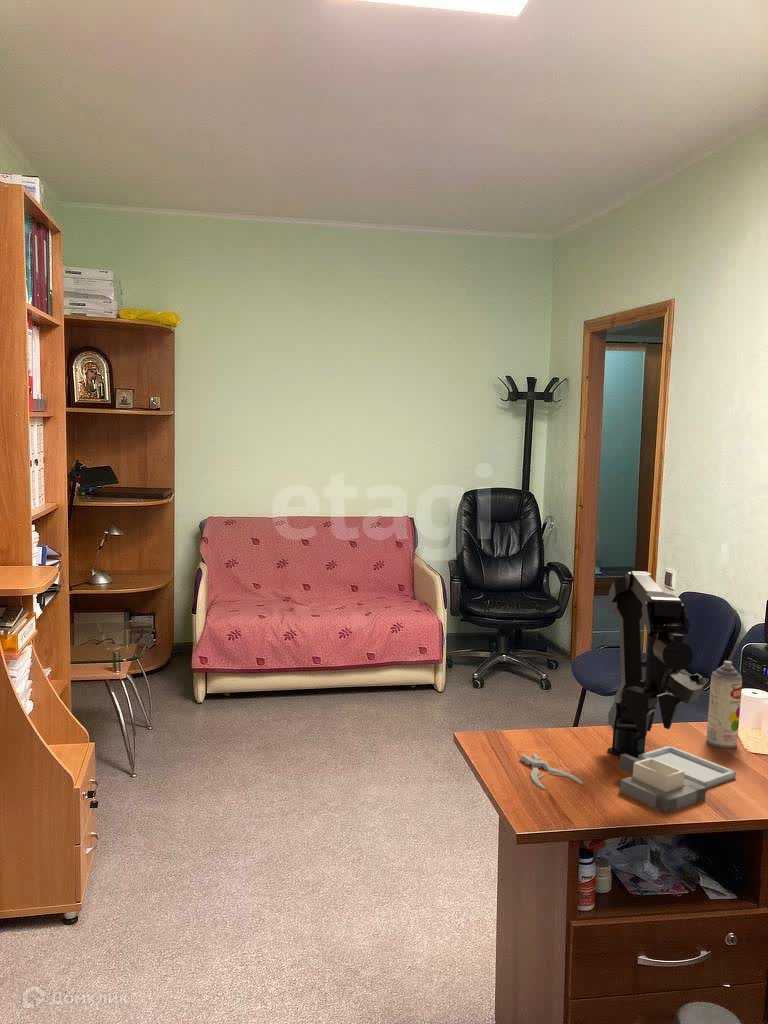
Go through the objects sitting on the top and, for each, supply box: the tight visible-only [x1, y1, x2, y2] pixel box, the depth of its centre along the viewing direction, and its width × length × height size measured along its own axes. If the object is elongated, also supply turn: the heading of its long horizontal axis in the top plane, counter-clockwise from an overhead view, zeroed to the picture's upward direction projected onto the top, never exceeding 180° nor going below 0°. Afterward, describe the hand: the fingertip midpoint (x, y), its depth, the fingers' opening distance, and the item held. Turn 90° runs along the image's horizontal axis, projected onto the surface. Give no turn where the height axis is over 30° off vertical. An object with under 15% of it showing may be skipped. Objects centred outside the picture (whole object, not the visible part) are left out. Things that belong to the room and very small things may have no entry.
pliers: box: [520, 752, 584, 790], centre depth 171 cm, size 10×2×15 cm
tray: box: [637, 745, 737, 790], centre depth 176 cm, size 17×11×2 cm
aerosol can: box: [705, 660, 743, 750], centre depth 192 cm, size 7×7×20 cm
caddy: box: [618, 754, 685, 793], centre depth 165 cm, size 13×6×6 cm, turn 35°
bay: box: [619, 776, 707, 814], centre depth 162 cm, size 11×12×2 cm
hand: (655, 732), depth 164 cm, fingers open, 9 cm apart
